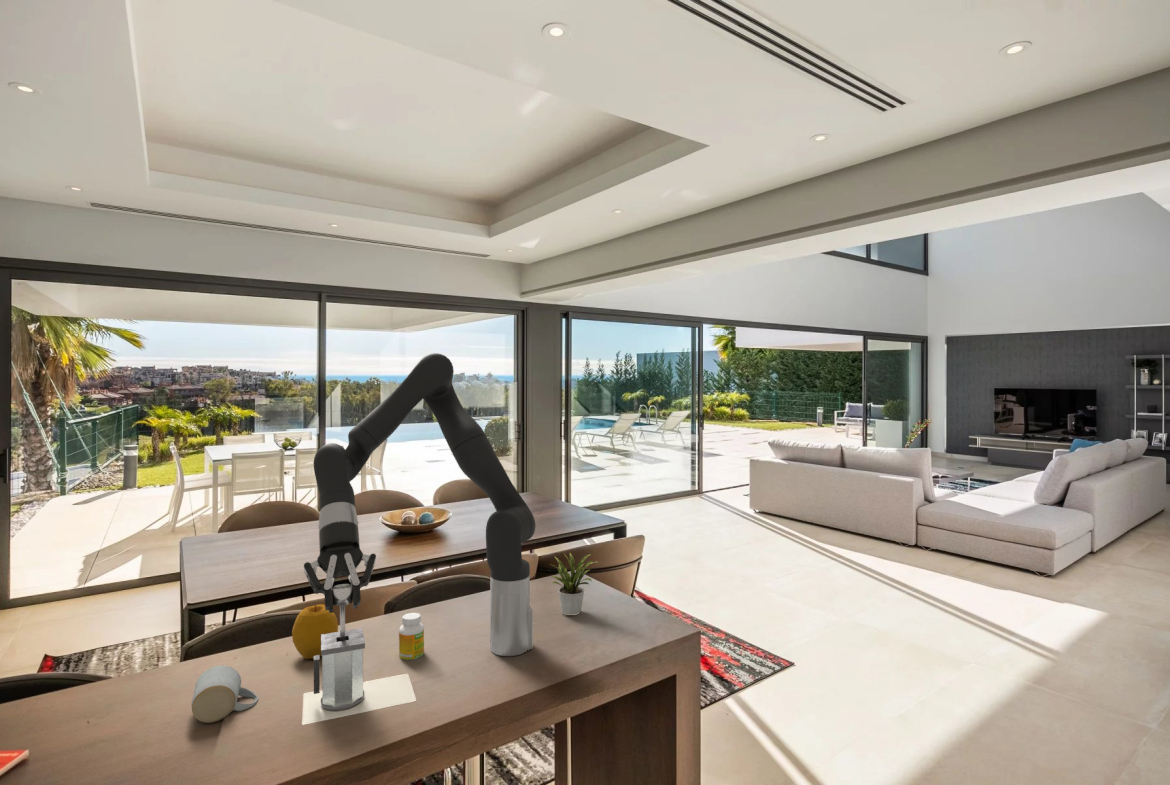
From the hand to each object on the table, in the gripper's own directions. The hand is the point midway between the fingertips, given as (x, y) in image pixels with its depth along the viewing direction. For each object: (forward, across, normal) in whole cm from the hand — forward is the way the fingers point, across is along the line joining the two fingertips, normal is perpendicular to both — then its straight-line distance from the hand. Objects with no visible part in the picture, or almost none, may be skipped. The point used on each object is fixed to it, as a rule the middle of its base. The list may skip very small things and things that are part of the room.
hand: (343, 608), depth 113 cm
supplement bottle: (+3, -15, -26) cm, 30 cm away
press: (+12, 0, -14) cm, 19 cm away
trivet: (+13, -2, -15) cm, 20 cm away
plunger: (+7, 0, -9) cm, 11 cm away
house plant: (-3, -60, -34) cm, 69 cm away
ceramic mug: (+8, +21, -20) cm, 30 cm away
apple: (-4, +5, -33) cm, 34 cm away
